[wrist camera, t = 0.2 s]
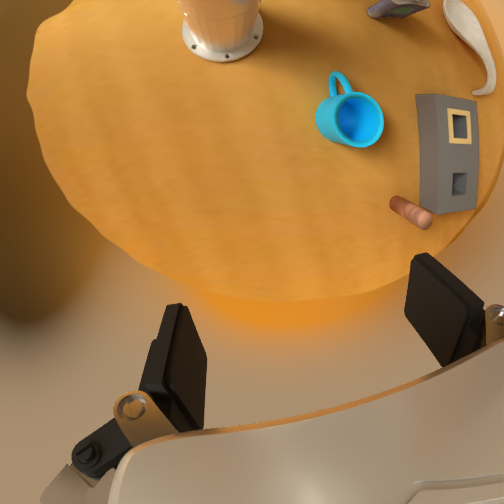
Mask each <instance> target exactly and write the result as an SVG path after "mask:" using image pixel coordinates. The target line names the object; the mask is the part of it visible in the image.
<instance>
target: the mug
mask: <svg viewBox="0 0 504 504" xmlns="http://www.w3.org/2000/svg"><path fill="white" fill-rule="evenodd" d="M336 78H338V80H339V81H340V83H341V84H342V86H343V89H344V91H345V94H340V95H337V90H336ZM329 91H330V96H331V97H329V98H327V99H325V100H324V101H323V102H321V103H320V105H319V107H318V108H317V111H316V116H315V118H316V125H317V127H318V129H319V131H320V133H321V134H322V135H323V136H324V137H325V138H327V139H328V140H330V141H332V142H336V143H340V144H345V145H349V146H354V147H367V146H370V145H372V144H374V143H375V142H376V141H377V140H378V139H379V137H380V135H381V134H382V132H383V127H384V118H383V113H382V111H381V108H380V106H379V105H378V104H377V102H376V101H375V100H374V99H373V98H371V97H370V96H369V95H367V94H364V93H361V92H353V90H352V88H351V86H350V83H349V81H348V80H347V79H346V77H345V76H344V75H343V74H342V73H341V72H338V71H333V72H332V73H331V74H330V76H329Z"/></svg>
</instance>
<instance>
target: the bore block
mask: <svg viewBox="0 0 504 504" xmlns="http://www.w3.org/2000/svg"><path fill="white" fill-rule="evenodd" d="M415 96H416V105H417V115H418V127H419V143H420V204H419V205H420V206H422V207H424V208H426V209H428V210H429V211H431V212H433V213H435V214H436V215H439V214H445V213H452V212H458V211H465V210H471V209H476V201H477V189H478V170H479V134H478V116H477V104H476V101H472V100H467V99H462V98H457V97H451V96H445V95H439V94H418V95H415Z"/></svg>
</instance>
